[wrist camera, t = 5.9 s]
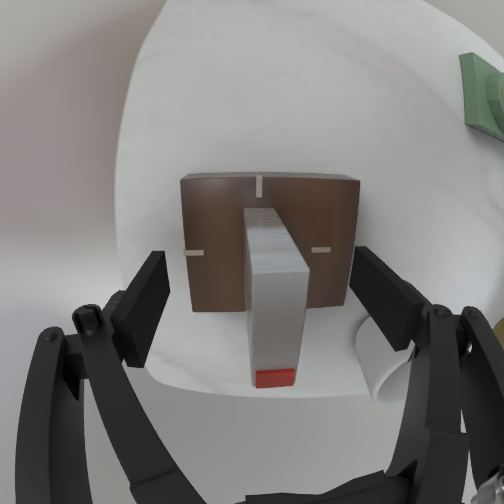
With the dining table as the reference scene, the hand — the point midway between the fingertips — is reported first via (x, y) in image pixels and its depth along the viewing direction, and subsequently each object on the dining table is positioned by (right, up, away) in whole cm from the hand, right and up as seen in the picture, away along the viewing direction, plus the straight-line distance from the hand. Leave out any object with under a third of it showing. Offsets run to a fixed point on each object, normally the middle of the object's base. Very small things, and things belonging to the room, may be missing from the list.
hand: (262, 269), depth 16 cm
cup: (+14, -8, +11) cm, 19 cm away
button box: (+26, +18, +1) cm, 31 cm away
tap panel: (+1, +2, +6) cm, 6 cm away
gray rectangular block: (0, +1, +3) cm, 3 cm away
